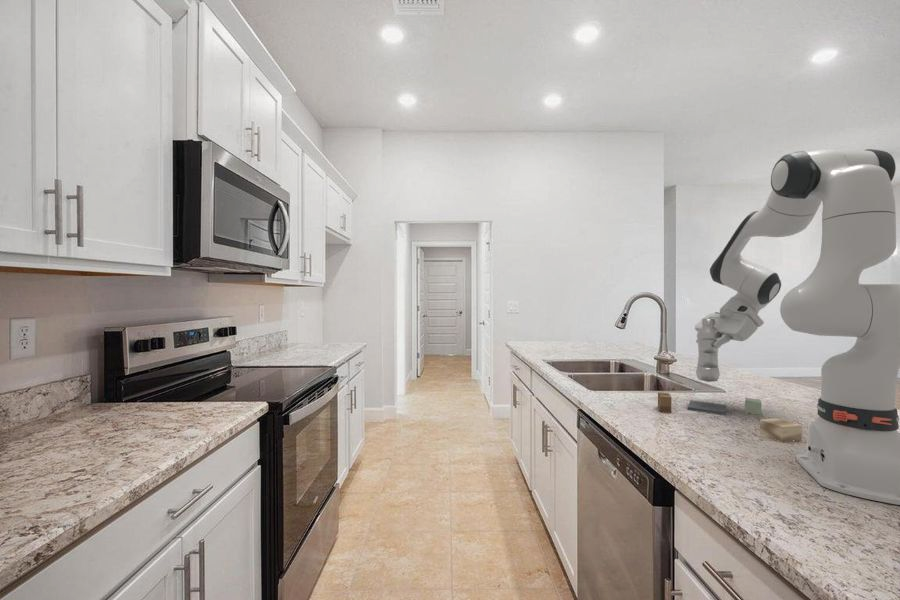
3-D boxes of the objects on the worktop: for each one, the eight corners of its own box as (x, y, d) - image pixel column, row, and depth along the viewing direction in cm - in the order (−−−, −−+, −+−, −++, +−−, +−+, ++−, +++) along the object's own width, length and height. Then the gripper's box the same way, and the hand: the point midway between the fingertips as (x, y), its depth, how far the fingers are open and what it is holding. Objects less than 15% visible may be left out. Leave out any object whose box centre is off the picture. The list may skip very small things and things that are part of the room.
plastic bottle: (719, 380, 135) (720, 318, 134) (719, 384, 129) (720, 320, 128) (696, 378, 138) (697, 318, 138) (695, 382, 132) (696, 319, 132)
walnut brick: (671, 413, 128) (671, 397, 128) (660, 412, 129) (660, 396, 129) (668, 408, 134) (668, 392, 134) (657, 407, 135) (657, 392, 135)
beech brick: (801, 441, 105) (801, 425, 105) (782, 442, 104) (782, 427, 104) (777, 433, 111) (778, 418, 111) (759, 434, 110) (759, 419, 110)
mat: (725, 414, 127) (725, 412, 127) (687, 409, 132) (687, 406, 132) (725, 407, 135) (726, 404, 135) (690, 402, 140) (690, 400, 140)
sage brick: (761, 415, 126) (761, 402, 126) (745, 413, 129) (745, 400, 129) (760, 412, 130) (760, 399, 130) (744, 410, 132) (745, 397, 132)
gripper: (707, 305, 144) (679, 334, 143) (754, 308, 123) (722, 341, 123) (719, 318, 144) (692, 347, 144) (768, 323, 124) (736, 356, 123)
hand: (706, 344), depth 133 cm, fingers closed on plastic bottle, 6 cm apart
